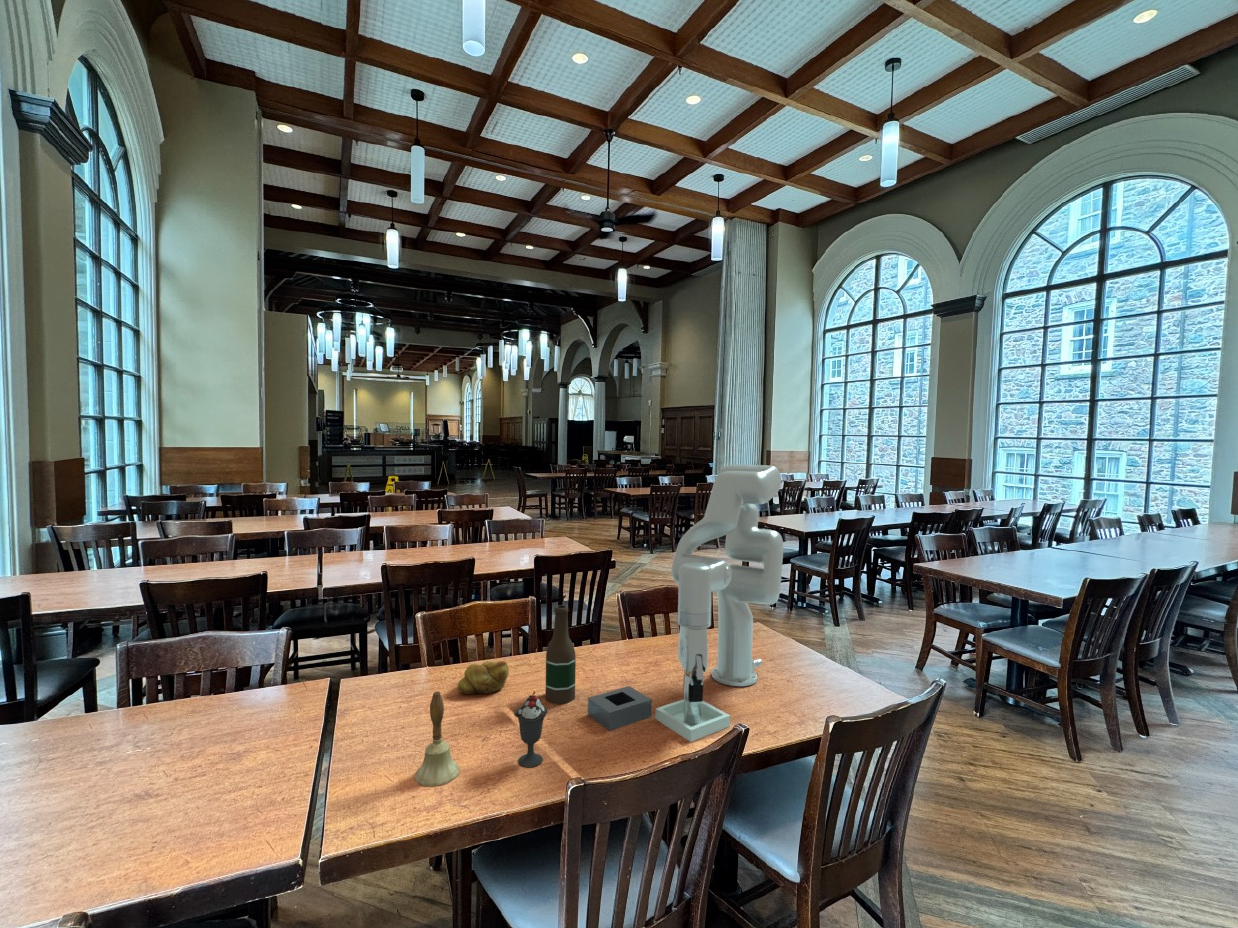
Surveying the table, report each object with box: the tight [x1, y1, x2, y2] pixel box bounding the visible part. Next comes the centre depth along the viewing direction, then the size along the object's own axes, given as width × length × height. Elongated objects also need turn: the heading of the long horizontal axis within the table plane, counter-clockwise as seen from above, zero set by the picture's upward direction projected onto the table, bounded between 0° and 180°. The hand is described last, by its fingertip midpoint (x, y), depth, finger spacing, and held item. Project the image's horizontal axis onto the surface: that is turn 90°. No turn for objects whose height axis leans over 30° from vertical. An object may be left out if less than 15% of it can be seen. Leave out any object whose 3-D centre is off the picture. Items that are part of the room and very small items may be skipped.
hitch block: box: [587, 685, 653, 732], centre depth 130 cm, size 12×9×5 cm
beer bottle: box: [545, 604, 577, 705], centre depth 139 cm, size 8×8×24 cm
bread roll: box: [456, 660, 510, 695], centre depth 145 cm, size 13×10×8 cm
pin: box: [683, 668, 702, 725], centre depth 127 cm, size 4×4×12 cm
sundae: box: [513, 690, 549, 768], centre depth 112 cm, size 7×7×15 cm
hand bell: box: [414, 691, 461, 787], centre depth 107 cm, size 8×8×16 cm
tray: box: [655, 698, 731, 743], centre depth 127 cm, size 12×12×4 cm
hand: (692, 695), depth 127 cm, fingers open, 4 cm apart
